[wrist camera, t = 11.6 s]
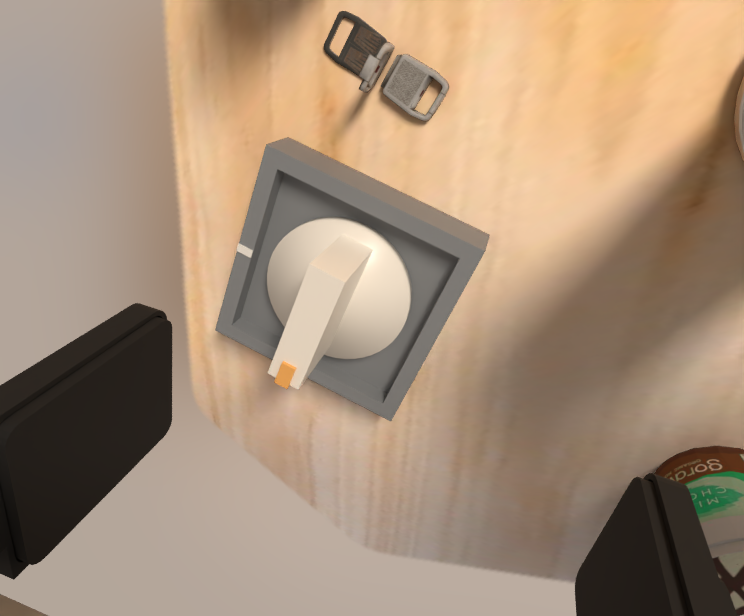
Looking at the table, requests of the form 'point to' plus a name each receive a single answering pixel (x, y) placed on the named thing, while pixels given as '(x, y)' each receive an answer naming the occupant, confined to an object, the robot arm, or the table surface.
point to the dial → (334, 295)
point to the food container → (717, 507)
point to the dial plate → (385, 215)
